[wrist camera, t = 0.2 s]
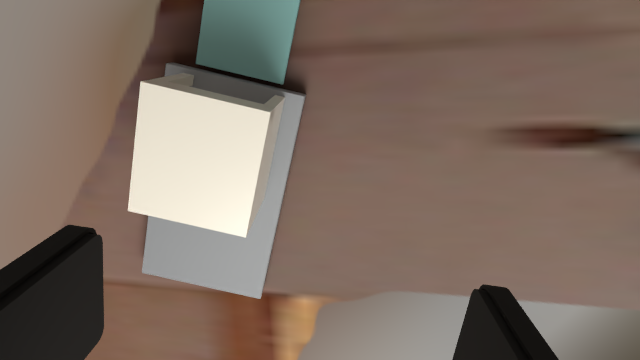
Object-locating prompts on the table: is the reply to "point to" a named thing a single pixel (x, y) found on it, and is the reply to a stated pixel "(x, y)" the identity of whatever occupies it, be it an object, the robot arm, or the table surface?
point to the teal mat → (248, 37)
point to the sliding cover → (201, 155)
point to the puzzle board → (217, 247)
